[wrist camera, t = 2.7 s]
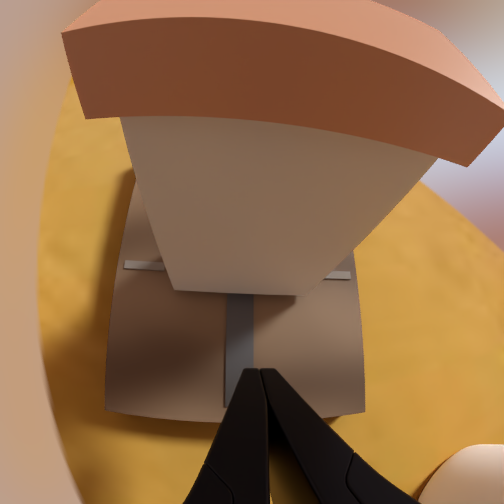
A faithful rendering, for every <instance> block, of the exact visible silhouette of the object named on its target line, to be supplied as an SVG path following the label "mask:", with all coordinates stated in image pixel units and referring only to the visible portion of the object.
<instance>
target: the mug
mask: <svg viewBox="0 0 504 504" xmlns="http://www.w3.org/2000/svg"><path fill="white" fill-rule="evenodd" d="M418 502H420V503H421V504H504V445H492V444H479V445H473V446H469V447H466V448H464V449H462V450H460V451H458V452H457V453H455V454H454V455H453V456H451V457H450V458H449V459H448V460H447V461H446V462H444V463H443V464H442V465H441V467H440V468H439V469H438V470H437V471H436V472H435V474H434V475H433V476H432V477H431V479H430V480H429V482H428V483H427V485H426V486H425V488H424V490H423V491H422V493H421V495H420V497H419V499H418Z"/></svg>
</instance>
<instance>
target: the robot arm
mask: <svg viewBox="0 0 504 504" xmlns="http://www.w3.org/2000/svg"><path fill="white" fill-rule="evenodd" d="M270 493H271V497H272V502H273V504H421V503H420V502H418V501H417V500H415V499H414V498H412V497H411V496H409V495H408V494H406V493H405V492H403V491H402V490H400V489H399V488H397V487H396V486H395V485H393V484H392V483H391V482H389V481H388V480H387V479H385V478H384V477H383V476H381V475H380V474H379V473H378V472H377V471H375V470H374V469H373V468H372V467H371V466H370V465H369V464H368V463H366V462H365V461H364V460H363V459H362V458H361V457H360V456H359V455H358V454H357V453H356V452H355V453H354V450H353V449H352V448H351V447H350V446H349V445H348V444H347V443H346V442H345V441H344V440H343V439H342V438H341V437H340V436H339V435H338V434H337V433H336V432H335V431H334V430H333V429H332V428H331V427H330V426H329V425H328V424H327V423H326V422H325V421H324V420H323V419H322V418H321V417H320V416H319V415H318V414H317V413H316V412H315V411H314V410H313V408H312V407H311V406H310V405H309V404H308V403H307V402H306V401H305V400H304V399H303V398H302V397H301V396H300V395H299V394H298V392H297V391H296V390H295V389H294V388H293V387H292V386H291V385H290V384H289V383H288V382H287V381H286V379H285V378H284V377H283V376H282V375H281V374H280V373H279V372H278V371H277V370H276V369H275V368H261V369H260V370H259V369H258V368H244V369H243V371H242V373H241V376H240V378H239V381H238V383H237V386H236V388H235V391H234V393H233V396H232V398H231V400H230V403H229V405H228V408H227V410H226V412H225V415H224V417H223V420H222V422H221V424H220V427H219V429H218V431H217V434H216V436H215V438H214V441H213V443H212V445H211V448H210V450H209V452H208V455H207V457H206V459H205V461H204V464H203V465H202V468H201V470H200V472H199V474H198V477H197V479H196V481H195V483H194V485H193V487H192V488H191V490H190V492H189V494H188V496H187V497H186V499H185V501H184V502H183V504H270Z"/></svg>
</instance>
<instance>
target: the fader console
mask: <svg viewBox="0 0 504 504" xmlns="http://www.w3.org/2000/svg"><path fill="white" fill-rule="evenodd" d="M244 368H258V369H259V370H260V369H261V368H275V369H276V370H277V371H278V372H279V373H280V374H281V375H282V376H283V377H284V378H285V379H286V381H287V382H288V383H289V384H290V385H291V386H292V387H293V388H294V389H295V390H296V391H297V392H298V394H299V395H300V396H301V397H302V398H303V399H304V400H305V401H306V402H307V403H308V404H309V405H310V406H311V407H312V408H313V410H314V411H315V412H316V413H317V414H318V415H319V416H320V417H321V418H327V417H335V416H343V415H350V414H356V413H362V412H365V377H364V355H363V339H362V325H361V314H360V303H359V294H358V285H357V276H356V268H355V261H354V254H353V251H352V252H351V253H350V254H349V255H348V256H347V257H346V258H345V259H344V260H343V261H342V262H341V263H340V264H339V265H338V266H337V267H336V268H334V269H333V270H332V271H331V272H330V273H329V274H328V275H327V276H326V277H325V278H324V279H323V280H322V281H321V282H320V283H319V284H318V285H317V286H316V287H315V288H314V289H313V290H311V291H310V292H309V293H308V294H307V295H306V296H301V295H265V294H239V293H217V292H198V291H182V290H174V288H173V286H172V283H171V281H170V278H169V275H168V273H167V270H166V267H165V265H164V262H163V259H162V256H161V253H160V251H159V248H158V245H157V242H156V239H155V236H154V233H153V230H152V227H151V224H150V221H149V218H148V215H147V212H146V209H145V206H144V203H143V200H142V196H141V193H140V190H139V187H138V183H137V180H136V182H135V186H134V190H133V194H132V198H131V202H130V206H129V210H128V215H127V219H126V224H125V228H124V233H123V238H122V243H121V249H120V254H119V260H118V265H117V271H116V278H115V284H114V291H113V298H112V306H111V314H110V323H109V333H108V345H107V358H106V376H105V410H106V411H111V412H117V413H123V414H129V415H136V416H144V417H152V418H160V419H170V420H182V421H197V422H222V420H223V417H224V415H225V412H226V410H227V408H228V405H229V403H230V400H231V398H232V396H233V393H234V391H235V388H236V386H237V383H238V381H239V378H240V376H241V373H242V371H243V369H244Z"/></svg>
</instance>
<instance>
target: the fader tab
mask: <svg viewBox="0 0 504 504" xmlns="http://www.w3.org/2000/svg"><path fill="white" fill-rule="evenodd" d="M61 34H62V38H63V43H64V47H65V51H66V55H67V59H68V62H69V66H70V70H71V73H72V77H73V80H74V84H75V87H76V91H77V94H78V97H79V100H80V103H81V106H82V110H83V113H84V116H85V119H95V118H109V117H120V120H121V124H122V128H123V132H124V136H125V140H126V144H127V148H128V152H129V155H130V159H131V162H132V166H133V170H134V173H135V176H136V180H137V183H138V187H139V190H140V193H141V196H142V200H143V203H144V206H145V209H146V212H147V215H148V218H149V221H150V224H151V227H152V230H153V233H154V236H155V239H156V242H157V245H158V248H159V251H160V253H161V256H162V259H163V262H164V265H165V267H166V270H167V273H168V275H169V278H170V281H171V283H172V286H173V288H174V290H182V291H198V292H217V293H239V294H265V295H301V296H306V295H307V294H308V293H309V292H310V291H311V290H313V289H314V288H315V287H316V286H317V285H318V284H319V283H320V282H321V281H322V280H323V279H324V278H325V277H326V276H327V275H328V274H329V273H330V272H331V271H332V270H333V269H334V268H336V267H337V266H338V265H339V264H340V263H341V262H342V261H343V260H344V259H345V258H346V257H347V256H348V255H349V254H350V253H351V252H352V251H353V250H354V249H355V248H356V247H357V246H358V245H359V244H360V243H361V242H362V241H363V240H364V239H365V238H366V237H367V236H368V235H369V234H370V232H371V231H372V230H373V229H374V228H375V227H376V226H377V225H378V224H379V223H380V222H381V221H382V220H383V219H384V218H385V217H386V216H387V215H388V214H389V213H390V211H391V210H392V209H393V208H394V207H395V206H396V205H397V204H398V203H399V202H400V201H401V200H402V199H403V197H404V196H405V195H406V194H407V193H408V192H409V191H410V190H411V189H412V188H413V186H414V185H415V184H416V183H417V182H418V181H419V180H420V179H421V177H422V176H423V175H424V174H425V173H426V172H427V170H428V169H429V168H430V167H431V166H432V165H433V164H434V162H435V161H436V160H437V159H438V158H441V159H444V160H447V161H450V162H453V163H456V164H459V165H462V166H465V167H468V166H469V165H470V164H471V163H472V162H473V161H474V160H475V159H476V157H477V156H478V155H479V154H480V153H481V152H482V151H483V150H484V149H485V148H486V146H487V145H488V144H489V143H490V142H491V141H492V140H493V139H494V138H495V136H496V135H497V134H498V133H499V132H500V131H501V129H502V128H503V127H504V102H503V101H502V100H501V98H500V97H499V96H498V95H497V93H496V92H495V91H494V89H493V88H492V87H491V85H490V84H489V83H488V82H487V81H486V79H485V78H484V77H483V76H482V75H481V74H480V73H479V71H478V70H477V69H476V68H475V67H474V65H473V64H472V63H471V62H470V61H469V60H468V59H467V58H466V57H465V56H464V55H463V54H462V52H461V51H460V50H459V49H457V47H456V46H455V45H454V44H453V43H452V42H451V41H450V40H449V39H447V38H446V37H445V36H444V35H443V34H442V33H441V32H440V31H439V30H437V29H435V28H433V27H431V26H429V25H427V24H425V23H423V22H421V21H419V20H417V19H414V18H413V17H410V16H408V15H406V14H404V13H401V12H399V11H397V10H394V9H392V8H389V7H387V6H384V5H382V4H379V3H376V2H373V1H370V0H100V1H99V2H97V3H96V4H95V5H93V6H92V7H91V8H90V9H88V10H87V11H86V12H85V13H83V14H82V15H81V16H80V17H78V18H77V19H76V20H75V21H74V22H73V23H71V24H70V25H69V26H68V27H67V28H66V29H65V30H64V31H63V32H62V33H61Z"/></svg>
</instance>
